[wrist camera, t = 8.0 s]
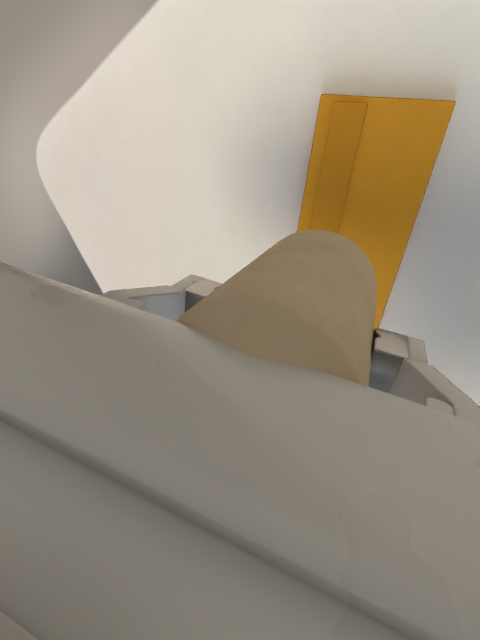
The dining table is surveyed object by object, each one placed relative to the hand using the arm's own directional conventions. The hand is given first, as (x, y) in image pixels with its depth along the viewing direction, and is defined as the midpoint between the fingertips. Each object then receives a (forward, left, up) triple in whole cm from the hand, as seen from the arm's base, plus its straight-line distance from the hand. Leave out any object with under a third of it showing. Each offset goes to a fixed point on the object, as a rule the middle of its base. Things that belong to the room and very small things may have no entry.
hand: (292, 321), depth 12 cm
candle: (0, 0, -4) cm, 4 cm away
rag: (0, +1, -19) cm, 19 cm away
